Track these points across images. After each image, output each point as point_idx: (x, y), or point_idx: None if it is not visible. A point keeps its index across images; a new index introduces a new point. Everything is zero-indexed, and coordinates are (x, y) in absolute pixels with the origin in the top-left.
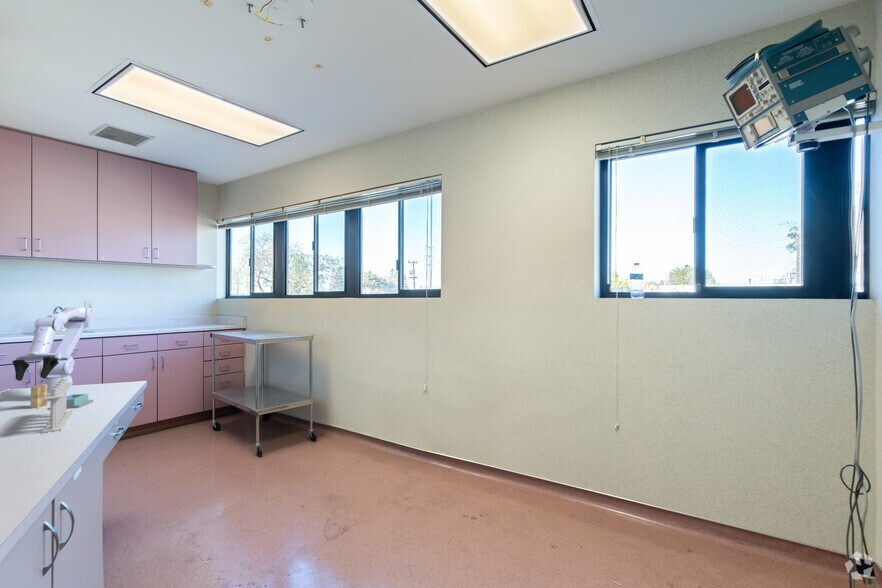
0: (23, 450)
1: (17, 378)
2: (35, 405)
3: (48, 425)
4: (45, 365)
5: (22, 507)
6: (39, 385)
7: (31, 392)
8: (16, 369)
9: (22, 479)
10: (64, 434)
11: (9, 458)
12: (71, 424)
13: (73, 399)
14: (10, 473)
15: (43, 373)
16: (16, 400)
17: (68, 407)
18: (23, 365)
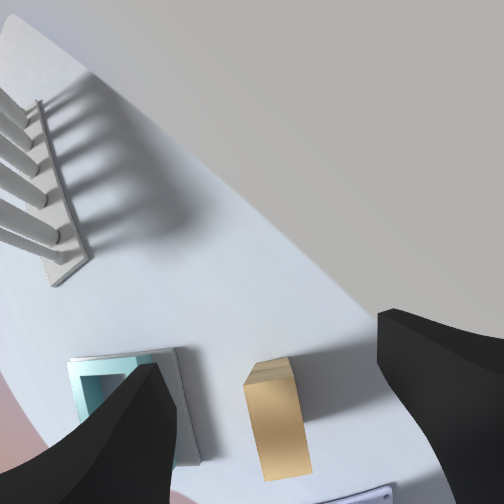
0: (37, 53)
1: (381, 314)
2: (264, 363)
3: (38, 129)
4: (74, 445)
5: (9, 19)
6: (292, 447)
7: (286, 370)
8: (470, 339)
9: (17, 29)
10: None
11: (42, 37)
12: None
13: (70, 362)
14: (29, 27)
15: (122, 382)
16: None
17: (106, 356)
18: (484, 454)
